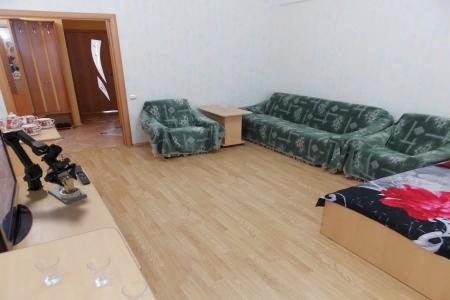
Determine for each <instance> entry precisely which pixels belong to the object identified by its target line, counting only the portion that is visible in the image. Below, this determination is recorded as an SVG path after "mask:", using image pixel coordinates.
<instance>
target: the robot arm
mask: <svg viewBox="0 0 450 300" xmlns="http://www.w3.org/2000/svg"><path fill="white" fill-rule="evenodd" d="M1 133H2V134H3V138H4V142H5V143H4V142H3V143H4V144H5V145H6V146H9V147H10V148H11V150H12V151H13V152H14V154H15V156H16V158H18V160H19V161H20V164H22V165H23V167H24V168H23V169H24V170H23V173H24V175H23V178H22V179H23V182H25V183H27V187H28V188H27V189H26V190H27V191H34V192H35V191H38V190H40V189H41V188H43V187H44V184H43V183H42V180H41V179H42V178H43V181H44V182H45V183H52V184H55V185H60V186H62V187H64V184H63V181H62V180H60V177H58V175H59V174H61V173H63V172H66V171H67V172H69V173H68V174H69V175H68V176H70V177H73V180H74V181H78V176H77V174H76V168H77V166H78V164H77V163H75V162H71V161H72V160H71V159H70V158H69V157H68V156H67V157H65V158H63V160H60V159H58V158H59V156H60V155H61V153H62V152H63V147H61V146H60V145H58V144H55V143H52V144H50V145H48V144H46V143H45V142H43V141H38V140H36V139H35V138H34V137H32V136H31V135H30V134H28V133H26V132H25V131H24V130H23V129H22V128H19V129H11V130H6V131H3V132H1ZM20 141H21V142H22V143H23V144H25V145H26V146H28V147H29V148H30V149H31V152H32V153H33V154H34V155H35V156H37V157H41V159H40V162H41V163H42V162H44V163H45V164H46V165H47V166H48V168H49V170H50V169H51V170H52V172H50V173H48V174H47V173H46V174H45V176H44V177H43V175H44V171H43V168H42V167H41V166H40V164H39V163H35V162H33V160H32V159H31V157H30V156H29V154H28V153H27V151H26V150H25V149H24V147H23V145H22V144H21V143H20ZM69 163H70V164H69ZM66 165H68V166H67V167H66ZM65 167H66V168H65Z"/></svg>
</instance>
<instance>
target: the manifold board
mask: <svg viewBox="0 0 450 300" xmlns="http://www.w3.org/2000/svg"><path fill="white" fill-rule="evenodd" d="M74 187H75V190H76V191H77V192H75V193H72V194H64V192H65V189H64V187H62V186H60V185H58V186H55V187H51V188H48V189H47V193H48V194H51V195H52V196H53V197H54V198H56V199H58V200H59V201H61V202H62V203H63V204H66V205H68V204H70V202H71V203H72V202H76V201H79V200H81V199H84V198H86V197H87V196H88V195H87V193H86V192H84V191H82V190H81V187H79V186H75V185H74ZM75 200H76V201H75Z"/></svg>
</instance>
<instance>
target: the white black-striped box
mask: <svg viewBox="0 0 450 300" xmlns="http://www.w3.org/2000/svg"><path fill="white" fill-rule="evenodd" d="M69 164H71V162H69ZM67 166H68V165H66V167H67ZM66 167H65V168H66ZM50 172H52V170H51V169H50V170H49V167H47V168H46V175H47V174H48V173H50ZM68 173H69V172H67V171H66V172H63V173H61V174H59V175H58V178H60V177H66V176H70V175H69V174H68Z"/></svg>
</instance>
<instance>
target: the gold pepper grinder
mask: <svg viewBox="0 0 450 300" xmlns="http://www.w3.org/2000/svg"><path fill="white" fill-rule="evenodd" d="M62 183H63V184H64V189H65V192H64V194H72V193H75V192H77V191H76V190H75V187H76V186H75V180H74V178H73V177H71V176H70V175H66V176H65V177H64V178H63V179H62ZM74 186H75V187H74Z"/></svg>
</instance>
